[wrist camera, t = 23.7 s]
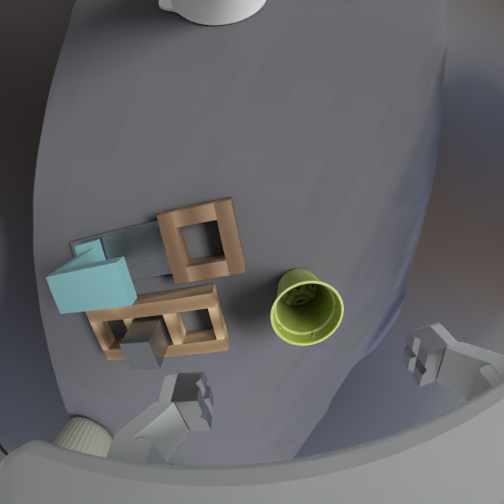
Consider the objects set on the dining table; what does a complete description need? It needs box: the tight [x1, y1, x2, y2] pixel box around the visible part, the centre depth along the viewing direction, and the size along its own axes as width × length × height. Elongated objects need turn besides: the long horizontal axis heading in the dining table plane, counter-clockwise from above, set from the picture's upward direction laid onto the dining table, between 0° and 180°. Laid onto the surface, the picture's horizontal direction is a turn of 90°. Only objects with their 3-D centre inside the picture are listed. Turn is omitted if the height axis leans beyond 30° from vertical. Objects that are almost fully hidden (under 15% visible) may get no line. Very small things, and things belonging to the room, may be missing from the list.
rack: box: [85, 283, 229, 360], centre depth 43 cm, size 10×22×4 cm, turn 100°
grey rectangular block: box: [119, 315, 171, 370], centre depth 39 cm, size 5×5×10 cm
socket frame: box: [70, 197, 245, 284], centre depth 39 cm, size 27×10×3 cm, turn 100°
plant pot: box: [270, 269, 344, 345], centre depth 39 cm, size 9×9×9 cm
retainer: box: [46, 239, 137, 314], centre depth 34 cm, size 13×7×12 cm, turn 100°
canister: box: [51, 417, 113, 457], centre depth 45 cm, size 18×18×21 cm
